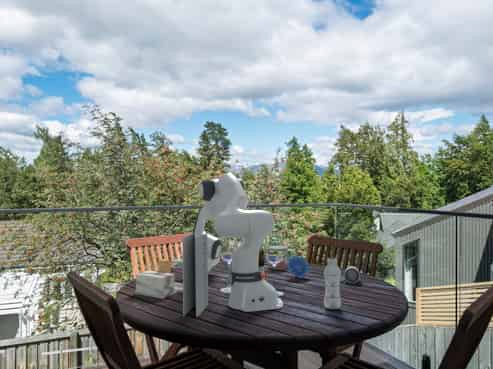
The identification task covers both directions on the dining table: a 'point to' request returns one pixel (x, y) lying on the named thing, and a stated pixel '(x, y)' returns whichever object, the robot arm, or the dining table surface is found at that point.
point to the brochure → (195, 273)
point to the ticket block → (157, 284)
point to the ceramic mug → (351, 275)
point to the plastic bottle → (332, 284)
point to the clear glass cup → (284, 263)
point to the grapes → (298, 266)
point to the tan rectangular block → (164, 266)
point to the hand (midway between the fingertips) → (180, 267)
